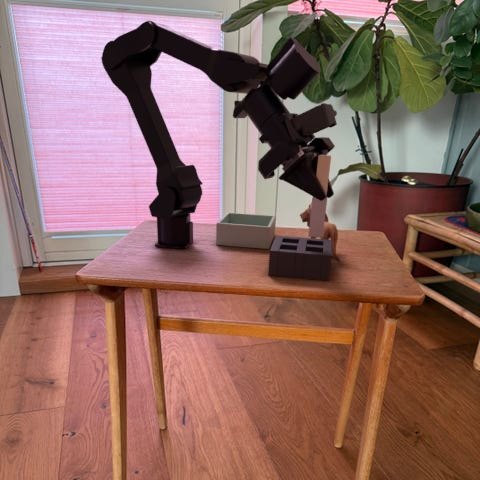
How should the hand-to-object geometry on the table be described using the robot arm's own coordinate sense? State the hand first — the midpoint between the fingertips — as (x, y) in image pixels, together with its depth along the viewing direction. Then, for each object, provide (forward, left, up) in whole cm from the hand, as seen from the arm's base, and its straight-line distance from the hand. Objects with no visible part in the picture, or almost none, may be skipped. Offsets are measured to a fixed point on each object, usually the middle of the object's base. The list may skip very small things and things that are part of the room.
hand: (327, 197), depth 75 cm
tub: (-16, +19, -13) cm, 29 cm away
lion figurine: (0, +14, -14) cm, 20 cm away
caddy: (-4, +2, -13) cm, 14 cm away
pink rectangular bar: (-1, 0, -7) cm, 7 cm away
